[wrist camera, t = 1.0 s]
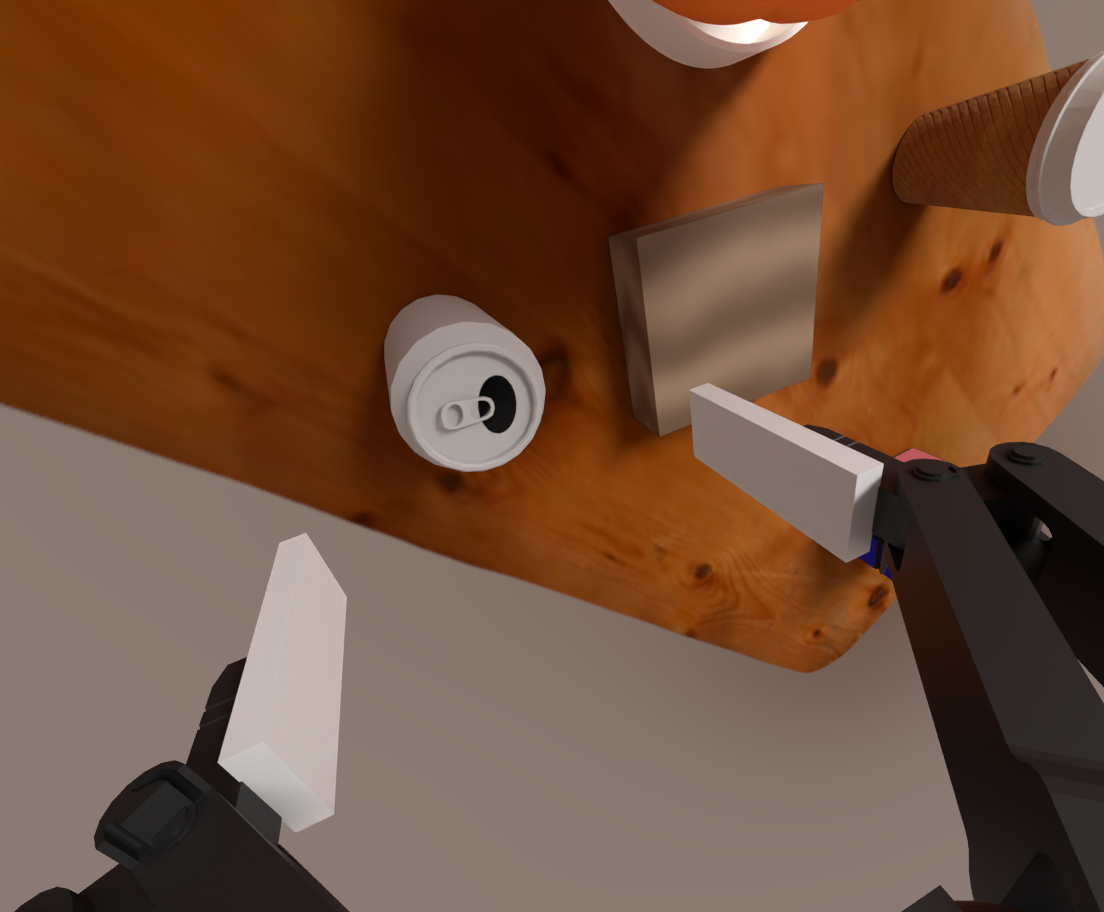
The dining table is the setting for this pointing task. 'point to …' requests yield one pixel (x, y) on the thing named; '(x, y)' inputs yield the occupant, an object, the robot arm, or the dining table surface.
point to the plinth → (718, 301)
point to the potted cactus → (720, 26)
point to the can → (461, 384)
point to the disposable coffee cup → (1013, 149)
